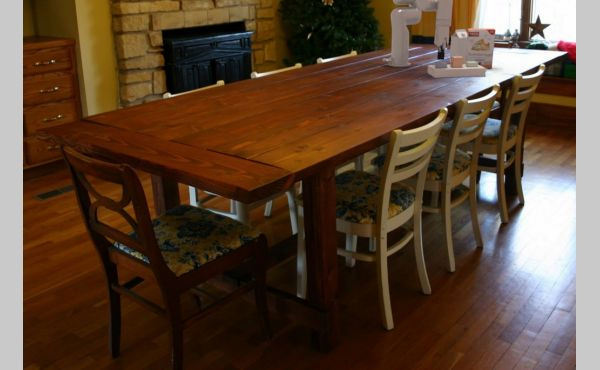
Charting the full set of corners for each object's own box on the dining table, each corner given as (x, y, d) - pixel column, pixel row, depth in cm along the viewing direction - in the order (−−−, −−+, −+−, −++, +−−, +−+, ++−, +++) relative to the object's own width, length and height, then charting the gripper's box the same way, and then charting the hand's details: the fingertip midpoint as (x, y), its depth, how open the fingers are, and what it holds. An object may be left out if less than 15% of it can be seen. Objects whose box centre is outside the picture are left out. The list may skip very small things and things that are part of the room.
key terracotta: (453, 67, 317) (453, 57, 316) (450, 66, 322) (451, 56, 320) (462, 67, 318) (463, 57, 316) (459, 65, 322) (460, 56, 320)
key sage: (468, 72, 319) (468, 63, 317) (465, 71, 323) (465, 61, 322) (477, 72, 319) (478, 62, 317) (474, 70, 324) (474, 61, 322)
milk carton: (449, 63, 355) (451, 29, 349) (459, 62, 358) (461, 28, 352) (457, 65, 349) (459, 30, 343) (467, 64, 352) (470, 29, 346)
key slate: (437, 73, 318) (438, 63, 316) (434, 72, 322) (435, 62, 321) (446, 73, 318) (447, 63, 316) (444, 71, 323) (444, 62, 321)
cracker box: (465, 68, 337) (468, 29, 330) (464, 67, 343) (467, 28, 336) (492, 68, 335) (495, 29, 328) (490, 67, 341) (494, 27, 334)
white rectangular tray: (434, 77, 314) (435, 69, 312) (427, 73, 327) (427, 65, 326) (485, 76, 315) (485, 68, 314) (476, 71, 328) (476, 63, 327)
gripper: (432, 21, 319) (429, 57, 325) (440, 24, 305) (437, 62, 311) (446, 20, 319) (443, 56, 326) (455, 24, 305) (452, 62, 312)
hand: (440, 59), depth 319 cm, fingers closed
